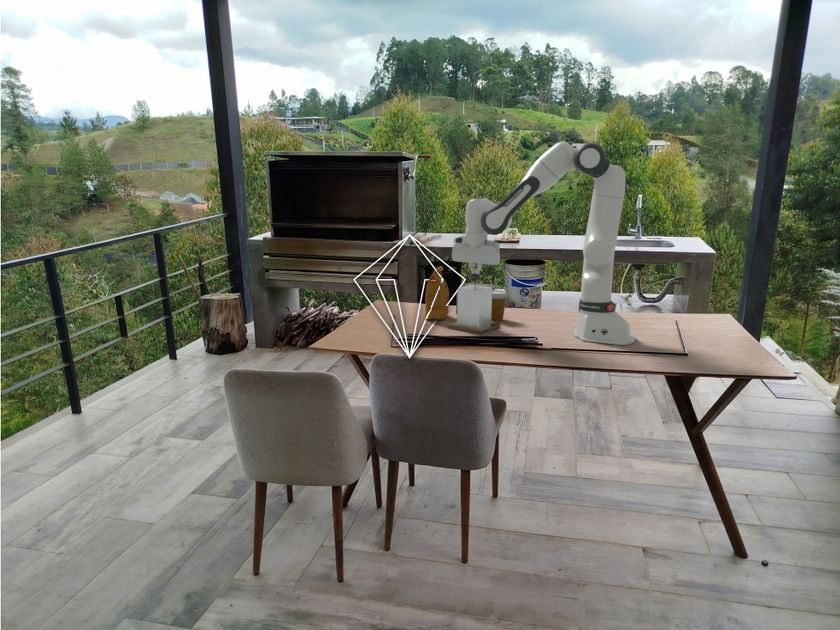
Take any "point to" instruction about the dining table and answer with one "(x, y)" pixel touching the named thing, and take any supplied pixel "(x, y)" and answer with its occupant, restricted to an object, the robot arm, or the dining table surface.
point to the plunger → (475, 279)
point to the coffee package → (442, 297)
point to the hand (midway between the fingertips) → (475, 274)
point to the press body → (474, 310)
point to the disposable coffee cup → (498, 305)
